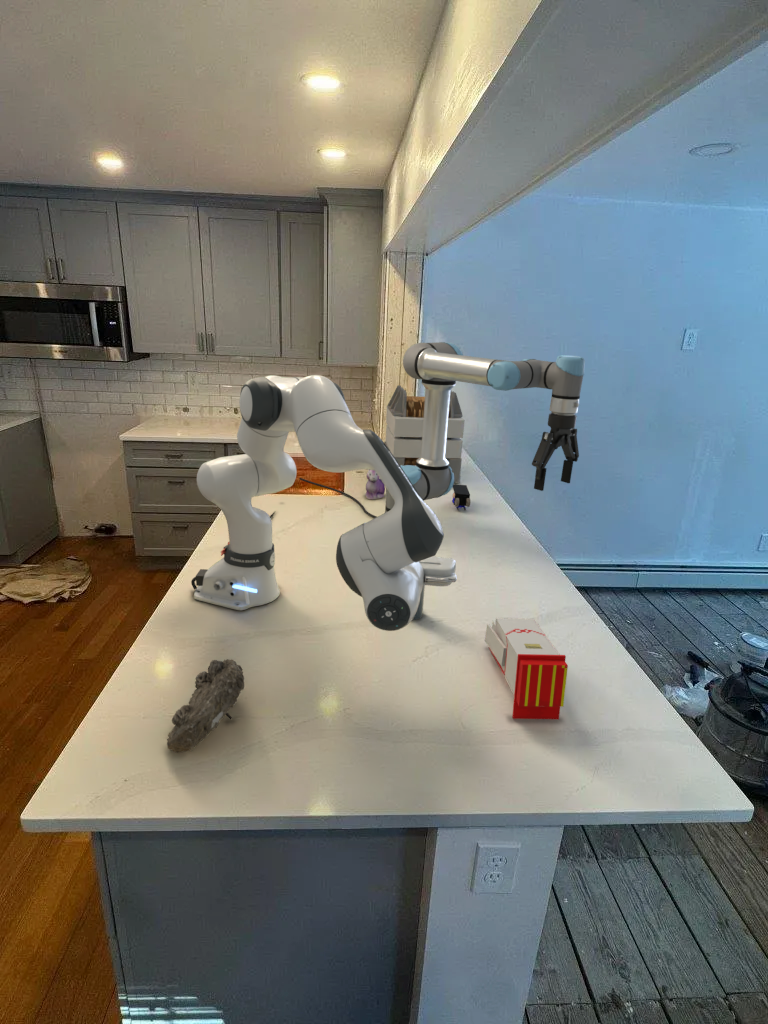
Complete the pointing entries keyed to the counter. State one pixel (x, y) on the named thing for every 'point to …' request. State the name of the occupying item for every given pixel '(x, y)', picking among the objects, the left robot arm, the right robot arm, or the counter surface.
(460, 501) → the figurine character
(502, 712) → the counter surface
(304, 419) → the left robot arm
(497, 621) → the toy
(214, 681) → the fossil
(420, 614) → the jar
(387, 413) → the white slatted box
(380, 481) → the figurine
